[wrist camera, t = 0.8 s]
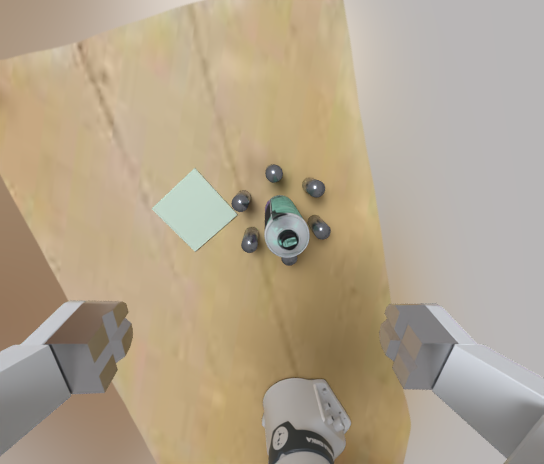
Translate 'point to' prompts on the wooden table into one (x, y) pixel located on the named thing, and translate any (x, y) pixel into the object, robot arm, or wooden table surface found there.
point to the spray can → (285, 228)
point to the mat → (194, 210)
